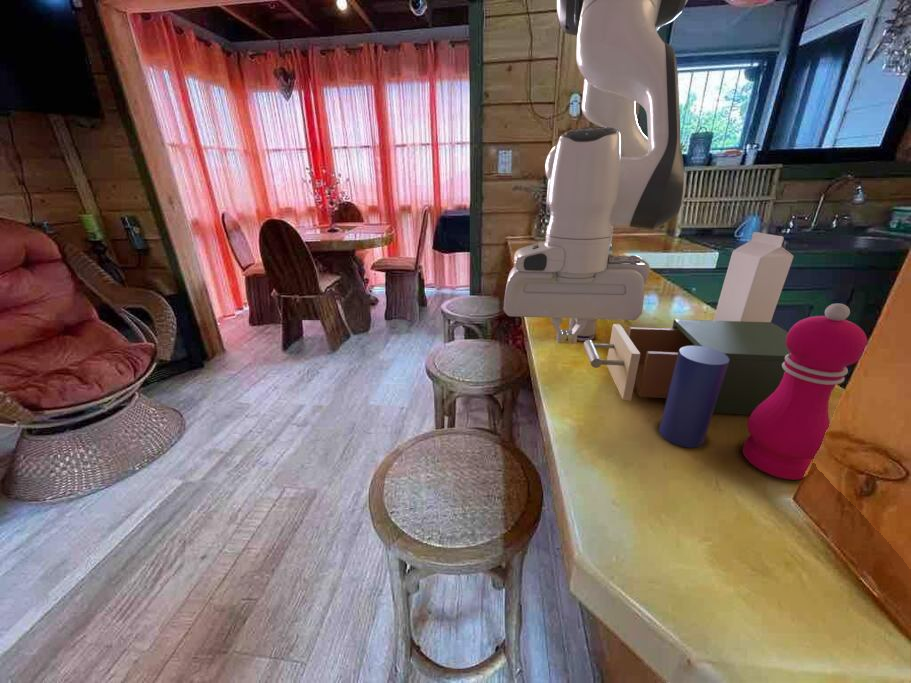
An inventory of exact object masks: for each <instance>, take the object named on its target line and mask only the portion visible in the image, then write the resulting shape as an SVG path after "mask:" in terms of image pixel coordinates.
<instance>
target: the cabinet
mask: <svg viewBox="0 0 911 683" xmlns="http://www.w3.org/2000/svg"><path fill="white" fill-rule="evenodd" d="M671 328H673V329H679V330H680V331H681V332H682V333H683V334H684V335H685V336H686V337H687V338H688V339H689V340H690V341H691V342H692V343H693V344H694V345H695V346H702V347H707V348H711V349H715V350H717V351H720V352H722V353H724V354H725V355H727V356H728V357H729V364H728V367H727V370H726V373H725V377H724V380H723V383H722V386H721V389H720V392H719V395H718V399H717V402H716V405H715V408H714V411H713V414H729V415H744V416H745V415H746V416H750V415H751V414H752V412H753V411H754V410H755V408H756V407H757V406H758V405H759V404H761V403H762V402H763V401H764V400H765V399H767V398H768V397H769V396H770V395H771V394H772V393H773V392H774V391H775V390H776V389H777V388H778V386H779V384H780V382H781V381H782V379H783V376H784V372H785V370H784V369H783V368H782V363H783V362H785V356H786V355H787V354H790V351H789V350H788V348H787V346H786V337H787V334H788V332H789V331H787V330H785V329H784V328H782V327H780V326H778V325H777V324H775V323H773V322H772V321H771V322H745V321H713V320H711V319H710V320H707V319H676V318H675V319H673V323H672V327H671Z"/></svg>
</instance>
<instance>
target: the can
mask: <svg viewBox="0 0 911 683" xmlns="http://www.w3.org/2000/svg"><path fill="white" fill-rule="evenodd" d="M728 364H729V357H728V356H727V355H725V354H724V353H722V352H720V351H717V350H715V349H711V348H707V347H702V346H685V347H682V348H680V349H679V352H678V356H677V360H676V364H675V368H674V372H673V376H672V380H671V384H670V388H669V392H668V396H667V398H666V400H665V404H664V409H663V412H662V416H661V420H660V425H659V428H658V429H659V430H658V431H659V433H660V435H661V437H663V438H664V439H665V440H666V441H668V442H670V443H672V444H674V445H676V446H678V447H682V448H688V449H689V448H690V449H691V448H692V449H693V448H699V447H701V446H702V445H703V444H704V443H705V440H706V436H707V434H708V430H709V427H710V423H711V420H712V417H713V414H714V413H713V411H714V408H715V405H716V402H717V399H718V395H719V392H720V389H721V386H722V383H723V380H724V377H725V373H726V370H727V367H728Z"/></svg>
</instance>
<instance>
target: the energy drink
mask: <svg viewBox="0 0 911 683" xmlns="http://www.w3.org/2000/svg"><path fill="white" fill-rule="evenodd" d="M597 322H598V319H587V323H586V326H585V327H584V328H583V330H582V331H581V332H580V333H579V334H578V335H577V341H579V342H585V341H586V340H591V341H593V339H595V336H596V328H597ZM568 324H569V325H568V330H572V329H573V327H574V326H575V325H576V320H575V318H569V323H568Z"/></svg>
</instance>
